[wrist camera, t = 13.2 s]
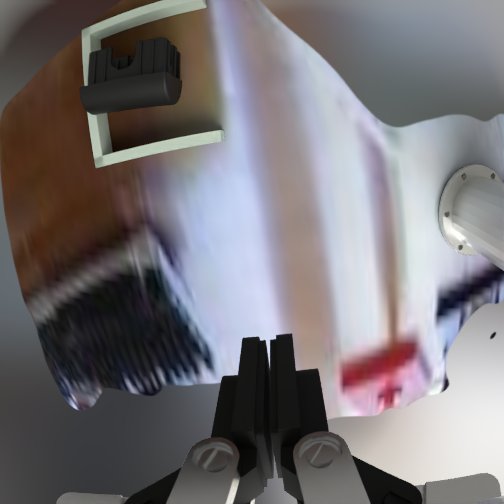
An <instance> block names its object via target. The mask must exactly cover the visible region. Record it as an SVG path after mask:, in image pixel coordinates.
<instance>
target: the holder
mask: <svg viewBox="0 0 504 504" xmlns="http://www.w3.org/2000/svg"><path fill="white" fill-rule="evenodd" d="M203 8H207V7H206V0H162V1H159V2H155V3H152V4H149V5H146V6H142V7H139V8H136V9H133V10H131V11H128V12H125V13H122V14H119V15H117V16H114V17H112V18H109V19H107V20H104V21H102V22H99V23H97V24H95V25H92V26H90V27H88V28H86V29H83V30H82V54H83V71H84V84H85V86H87V85H88V66H89V53H91V52H94V51H98V50H101V39H103V38H105V37H108V36H110V35H113V34H116V33H118V32H121V31H124V30H127V29H130V28H133V27H136V26H139V25H142V24H145V23H148V22H151V21H155V20H158V19H162V18H165V17H169V16H173V15H177V14H181V13H185V12H189V11H194V10H198V9H203ZM87 113H88V112H87ZM88 121H89V129H90V136H91V142H92V149H93V155H94V161H95V166H96V168H98V167H102V166H106V165H110V164H114V163H118V162H122V161H126V160H130V159H134V158H139V157H143V156H147V155H152V154H157V153H161V152H166V151H171V150H176V149H181V148H186V147H192V146H197V145H203V144H209V143H215V142H221V141H225V136H224V131H223V130H217V131H211V132H205V133H200V134H194V135H189V136H184V137H179V138H174V139H169V140H164V141H160V142H155V143H151V144H147V145H142V146H138V147H134V148H130V149H126V150H122V151H119V152H115V153H113V150H112V144H111V137H110V131H109V124H108V116H107V113H104V114H98V115H92V114H90V113H88Z"/></svg>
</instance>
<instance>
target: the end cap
mask: <svg viewBox="0 0 504 504" xmlns="http://www.w3.org/2000/svg"><path fill="white" fill-rule="evenodd" d="M181 88H182V81H181V80H180V53H179V52H178V51H177V47H175V46H174V45H171V42H170V41H169V40H168V39H166V38H155V39H149V40H143V41H138V42H136V55H135V57H131V58H130V56H123V57H118V58H113V48H112V47H110V48H106V49H102V50H98V51H94V52H91V53H89V66H88V85H87V86H83V87H80V97H81V101H82V104H83V106H84V108H85V110H86V111H87V112H88V113H90V114H92V115H98V114H104V113H110V112H116V111H123V110H130V109H137V108H145V107H154V106H164V105H174V104H176V103H177V102H178V100H179V98H180V94H181Z"/></svg>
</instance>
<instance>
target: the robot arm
mask: <svg viewBox="0 0 504 504" xmlns="http://www.w3.org/2000/svg"><path fill="white" fill-rule="evenodd" d="M439 224H440V228H441V232H442V234H443V237H444V239H445V240H446V242H447V243H448V245H449V246H451V247H452V248H453V249H454V250H455V251H457V252H458V253H461V254H463V255H470V256H471V255H477V254H479V253H480V254H481V255H482V256H484V257H485V258H487V259H488V260H489V261H491V262H492V263H494V264H495V265H496V266H498V267H499V268H500V269H502V270H503V271H504V183H502V181H501V179H500V177H499V176H498V175H497V174H496V172H494V171H493V170H492V169H491V168H488V167H486V166H483V165H479V164H471V165H467V166H464V167H463V168H461V169H459V170H458V171H457V172H456V173H455V174H453V176H452V177H451V178H450V180H449V181H448V183H447V185H446V186H445V188H444V191H443V194H442V196H441V201H440V206H439ZM274 456H275V462H276V468H277V473H278V478H283V483H284V489H285V491H286V492H287V493H289V494H290V495H292V496H293V497H295V498H296V499H297V504H504V496H501V492H500V485H499V482H498V480H497V479H496V478H495V477H494V476H493V475H491V474H488V473H481V474H476V475H471V476H466V477H460V478H454V479H448V480H441V481H434V482H426V483H425V485H418V486H414V485H412V484H411V483H408V482H406V481H404V480H402V479H399V478H397V477H395V476H393V475H391V474H388V473H386V472H384V471H382V470H380V469H378V468H376V467H374V466H372V465H370V464H368V463H366V462H364V461H362V460H360V459H358V458H356V457H354V456H352V455H351V453H350V451H349V448H348V446H347V444H346V442H345V441H344V439H342V438H341V437H340V436H339V435H337V434H334V433H332V432H329V430H328V424H327V417H326V411H325V405H324V399H323V393H322V388H321V382H320V376H319V371H318V368H317V369H309V370H300V371H296V368H295V358H294V348H293V338H292V334H282V335H276V339H274V340H270V368H269V361H268V353H267V346H266V341H265V340H263V341H260V339H259V337H248V338H243V339H242V347H241V355H240V363H239V371H238V375H234V376H223V377H222V380H221V386H220V391H219V396H218V402H217V407H216V413H215V418H214V424H213V429H212V435H211V438H207V439H203V440H201V441H199V442H197V443H196V444H195V445H194V446H192V447H191V449H190V451H189V452H188V454H187V457H186V459H185V461H184V464H183V466H182V467H181V468H180V469H178V470H176V471H175V472H173V473H171V474H170V475H168V476H166V477H164V478H163V479H161V480H159V481H157V482H156V483H154V484H152V485H150V486H148V487H147V488H145V489H143V490H141V491H139V492H137V493H135V494H133V495H132V496H131V497H129V498H128V497H126V498H125V497H122V496H121V495H101V494H86V493H85V494H84V493H74V492H71V493H66V494H64V495H62V496H61V497H60V498H59V499H58V500H57V503H56V504H254V503H255V498H256V497H257V496H258V495H260V494H261V493H262V492H264V487H267V479H270V478H273V470H274V467H273V466H274V464H273V463H274V462H273V461H274Z"/></svg>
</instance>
